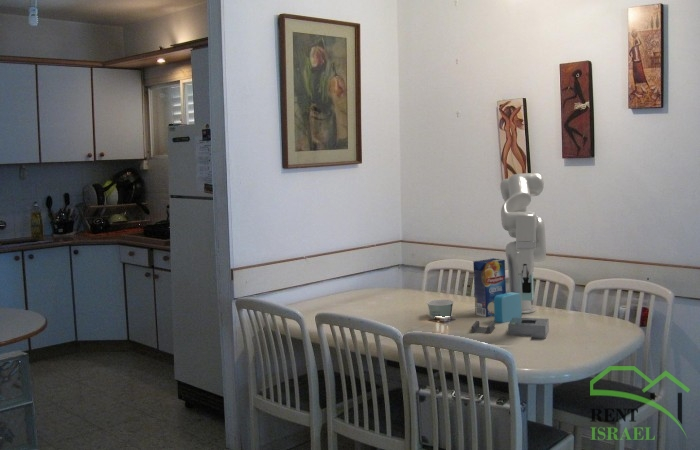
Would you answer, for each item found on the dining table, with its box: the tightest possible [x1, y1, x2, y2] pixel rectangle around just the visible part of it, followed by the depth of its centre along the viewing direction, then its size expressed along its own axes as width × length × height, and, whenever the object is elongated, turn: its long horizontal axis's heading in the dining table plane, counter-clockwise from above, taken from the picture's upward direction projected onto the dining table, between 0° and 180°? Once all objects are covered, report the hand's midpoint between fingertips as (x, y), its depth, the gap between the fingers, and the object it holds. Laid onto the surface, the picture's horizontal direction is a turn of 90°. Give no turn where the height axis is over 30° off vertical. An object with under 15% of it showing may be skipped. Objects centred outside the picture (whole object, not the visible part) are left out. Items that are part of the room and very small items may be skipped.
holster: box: [470, 320, 496, 334], centre depth 293 cm, size 10×8×4 cm
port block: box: [507, 317, 550, 340], centre depth 287 cm, size 12×14×6 cm
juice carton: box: [473, 258, 507, 318], centre depth 325 cm, size 12×8×24 cm, turn 122°
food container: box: [426, 299, 455, 319], centre depth 326 cm, size 12×12×6 cm
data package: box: [494, 291, 523, 324], centre depth 308 cm, size 12×4×12 cm, turn 126°
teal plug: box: [521, 273, 535, 302], centre depth 285 cm, size 4×4×11 cm
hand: (527, 291), depth 285 cm, fingers closed on teal plug, 4 cm apart
